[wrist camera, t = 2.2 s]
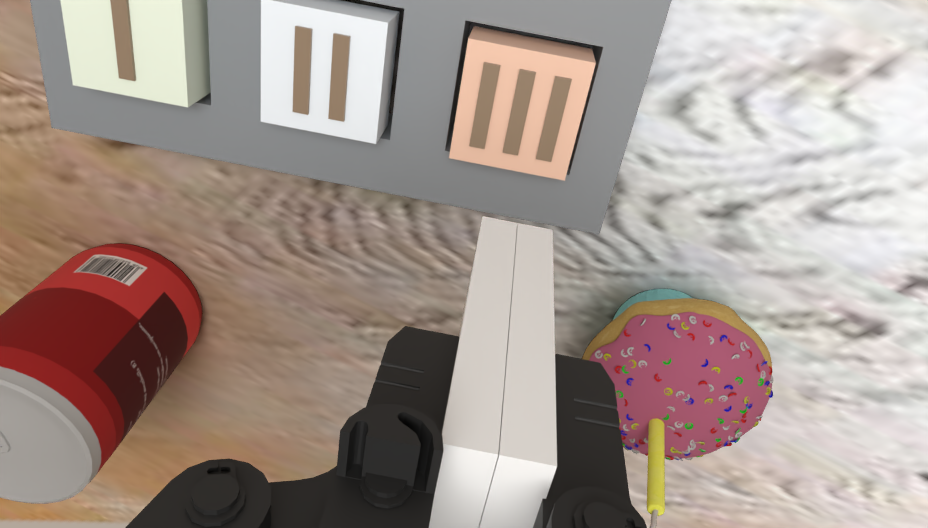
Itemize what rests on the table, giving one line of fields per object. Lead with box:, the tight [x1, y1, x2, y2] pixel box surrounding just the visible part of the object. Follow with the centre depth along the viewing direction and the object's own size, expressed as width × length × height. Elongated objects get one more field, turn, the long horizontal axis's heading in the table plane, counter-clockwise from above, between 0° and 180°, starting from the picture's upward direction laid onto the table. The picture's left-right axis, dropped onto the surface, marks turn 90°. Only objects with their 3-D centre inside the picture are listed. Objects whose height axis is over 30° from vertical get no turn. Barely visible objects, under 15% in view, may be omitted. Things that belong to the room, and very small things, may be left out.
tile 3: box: [449, 26, 596, 181], centre depth 25 cm, size 5×5×2 cm
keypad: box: [30, 0, 671, 234], centre depth 27 cm, size 24×10×3 cm, turn 81°
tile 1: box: [60, 0, 211, 107], centre depth 26 cm, size 5×5×2 cm
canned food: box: [0, 243, 202, 504], centre depth 32 cm, size 8×8×11 cm
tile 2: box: [261, 0, 400, 144], centre depth 26 cm, size 5×5×2 cm
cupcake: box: [582, 289, 773, 528], centre depth 29 cm, size 9×8×12 cm
